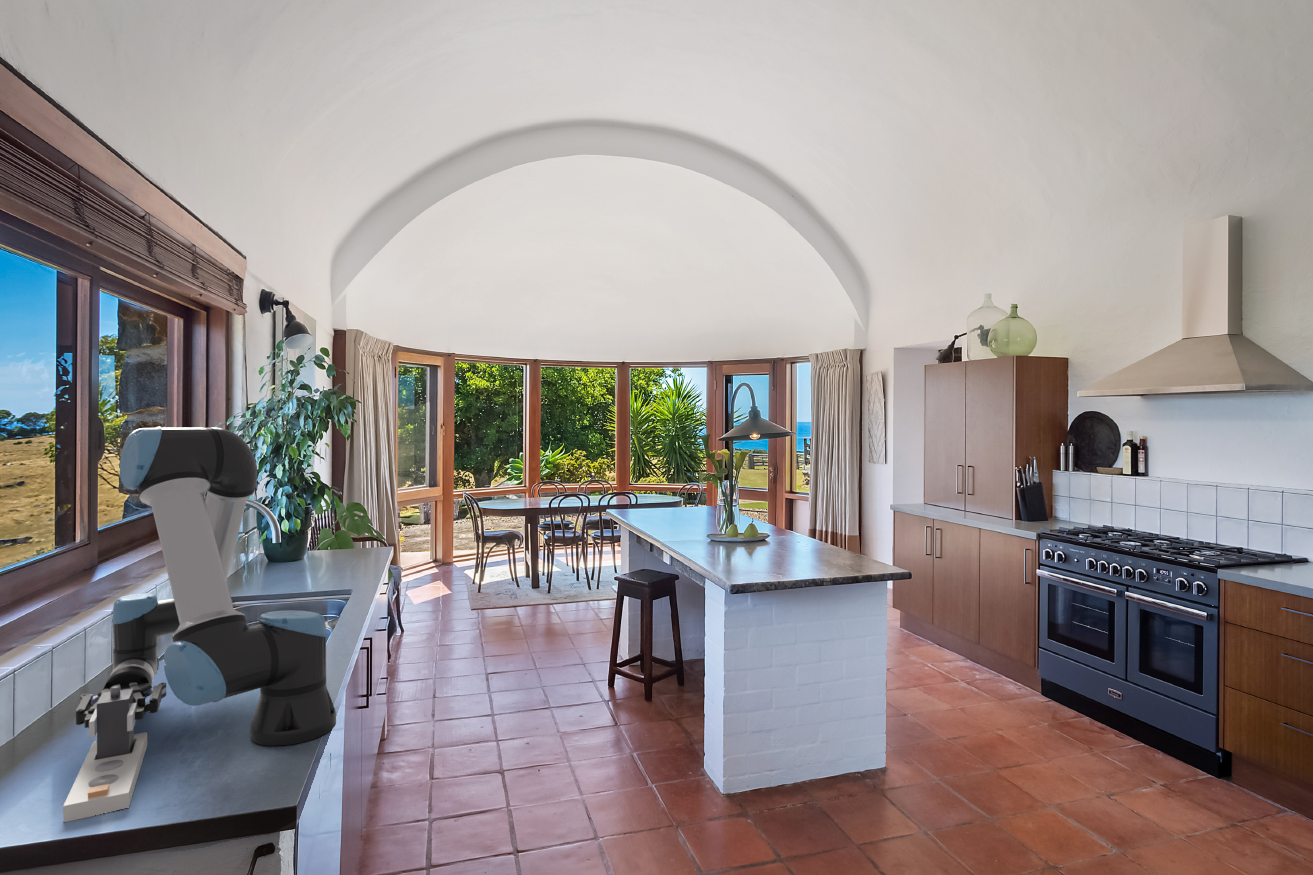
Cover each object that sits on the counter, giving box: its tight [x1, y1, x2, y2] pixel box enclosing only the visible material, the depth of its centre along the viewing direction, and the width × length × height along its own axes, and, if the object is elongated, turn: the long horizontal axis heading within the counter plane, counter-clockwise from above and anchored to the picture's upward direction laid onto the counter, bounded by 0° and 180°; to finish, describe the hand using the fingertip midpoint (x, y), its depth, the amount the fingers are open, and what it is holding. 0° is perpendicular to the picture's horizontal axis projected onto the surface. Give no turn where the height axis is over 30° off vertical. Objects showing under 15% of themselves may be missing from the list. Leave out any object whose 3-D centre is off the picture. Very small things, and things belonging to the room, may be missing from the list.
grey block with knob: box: [96, 686, 135, 760], centre depth 128 cm, size 6×4×12 cm
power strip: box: [62, 731, 148, 823], centre depth 122 cm, size 26×8×3 cm, turn 30°
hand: (111, 725), depth 123 cm, fingers closed on grey block with knob, 4 cm apart
